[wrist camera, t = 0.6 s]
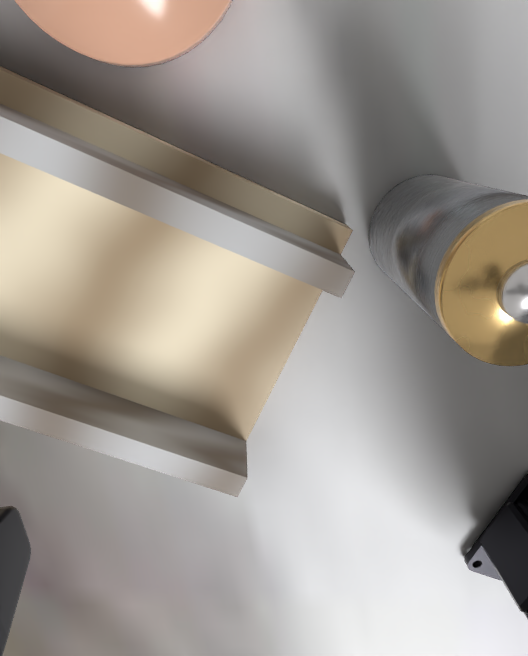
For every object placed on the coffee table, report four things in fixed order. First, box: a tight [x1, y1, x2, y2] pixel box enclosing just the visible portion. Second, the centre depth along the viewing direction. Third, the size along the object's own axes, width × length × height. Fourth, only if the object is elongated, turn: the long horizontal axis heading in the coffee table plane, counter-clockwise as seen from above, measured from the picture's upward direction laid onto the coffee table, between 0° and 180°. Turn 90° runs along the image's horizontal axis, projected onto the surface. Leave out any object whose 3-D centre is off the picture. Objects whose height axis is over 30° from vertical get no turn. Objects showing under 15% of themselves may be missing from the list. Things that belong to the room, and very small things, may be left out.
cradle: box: [0, 66, 355, 497], centre depth 19 cm, size 14×12×4 cm
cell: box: [369, 175, 528, 366], centre depth 17 cm, size 4×4×8 cm
